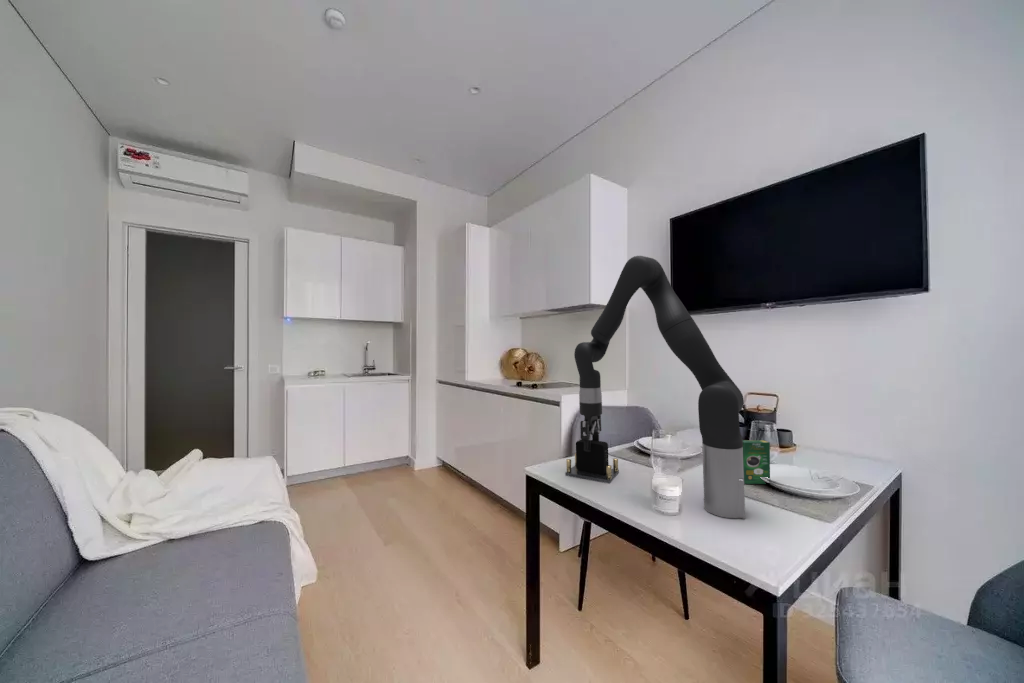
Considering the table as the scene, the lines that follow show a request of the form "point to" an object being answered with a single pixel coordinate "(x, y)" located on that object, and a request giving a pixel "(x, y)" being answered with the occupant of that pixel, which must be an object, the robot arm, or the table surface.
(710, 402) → the robot arm
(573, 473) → the chassis
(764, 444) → the coffee box
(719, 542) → the table surface
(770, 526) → the table surface
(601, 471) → the electronic device
